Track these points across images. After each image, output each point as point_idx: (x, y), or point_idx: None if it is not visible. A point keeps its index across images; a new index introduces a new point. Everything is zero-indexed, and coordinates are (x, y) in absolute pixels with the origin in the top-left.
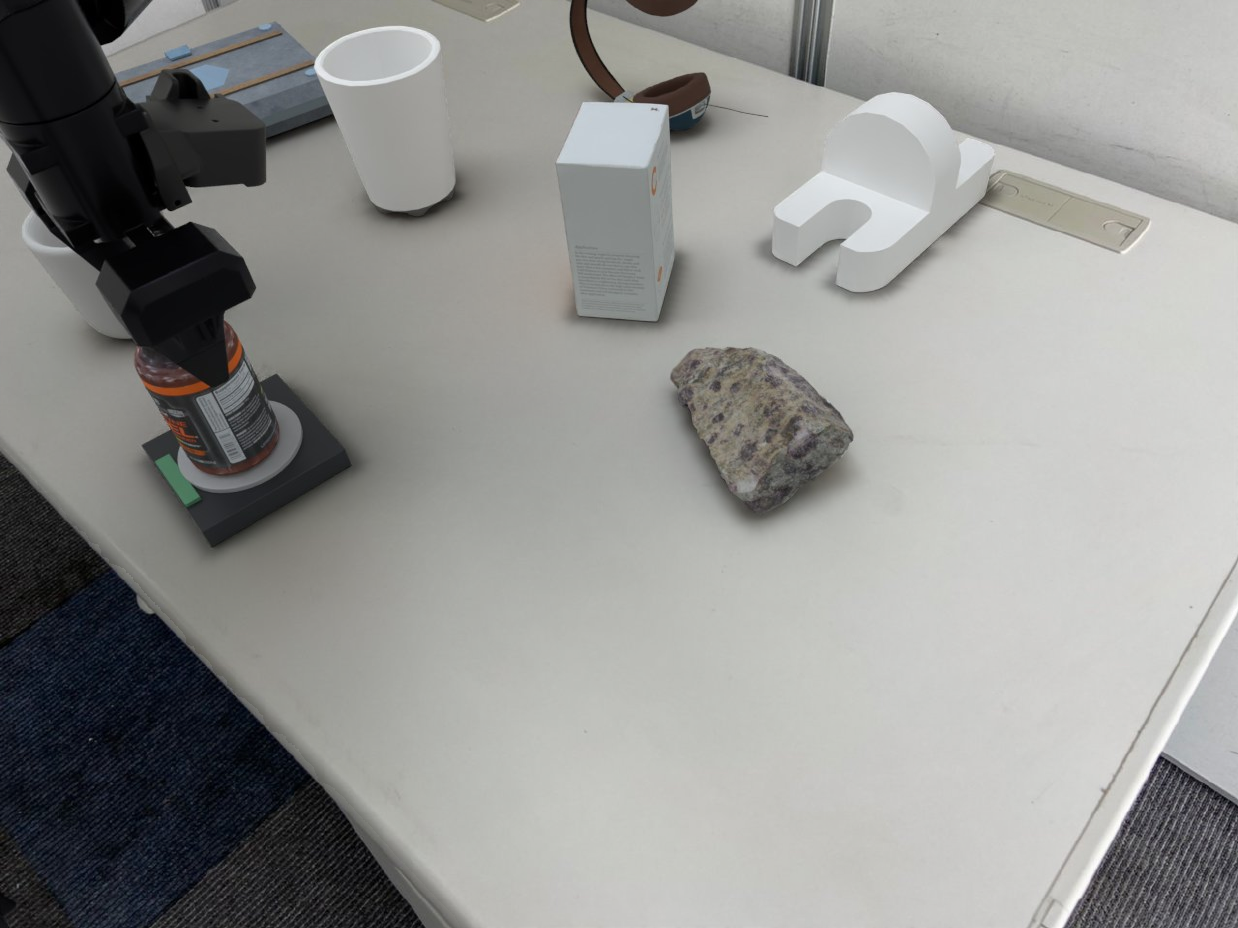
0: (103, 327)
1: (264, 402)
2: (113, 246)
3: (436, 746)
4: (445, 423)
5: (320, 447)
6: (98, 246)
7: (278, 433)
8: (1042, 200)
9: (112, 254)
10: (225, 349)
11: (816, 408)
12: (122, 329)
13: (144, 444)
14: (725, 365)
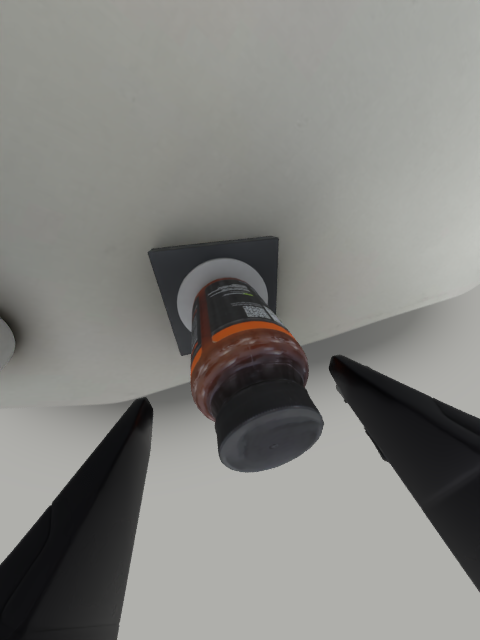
0: (2, 368)
1: (253, 293)
2: (93, 599)
3: (430, 277)
4: (288, 127)
5: (263, 254)
6: (99, 627)
7: (244, 281)
8: None
9: (107, 570)
10: (401, 384)
11: None
12: (9, 355)
13: (182, 354)
14: None
